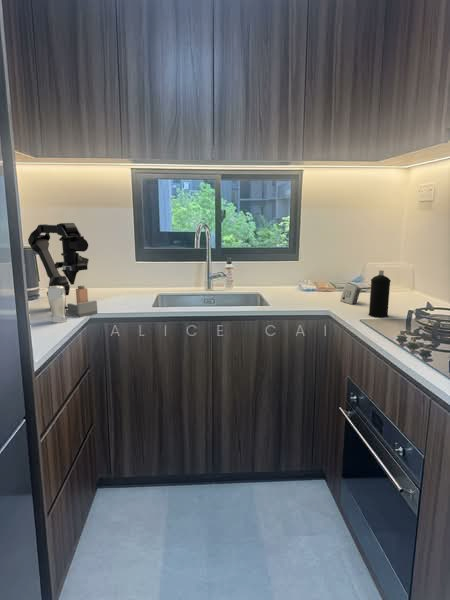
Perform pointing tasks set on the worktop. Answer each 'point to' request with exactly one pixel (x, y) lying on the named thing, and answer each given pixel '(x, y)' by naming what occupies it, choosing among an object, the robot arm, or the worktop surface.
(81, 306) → the socket track
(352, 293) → the electrical switch
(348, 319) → the worktop surface
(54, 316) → the beer glass
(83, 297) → the plug
